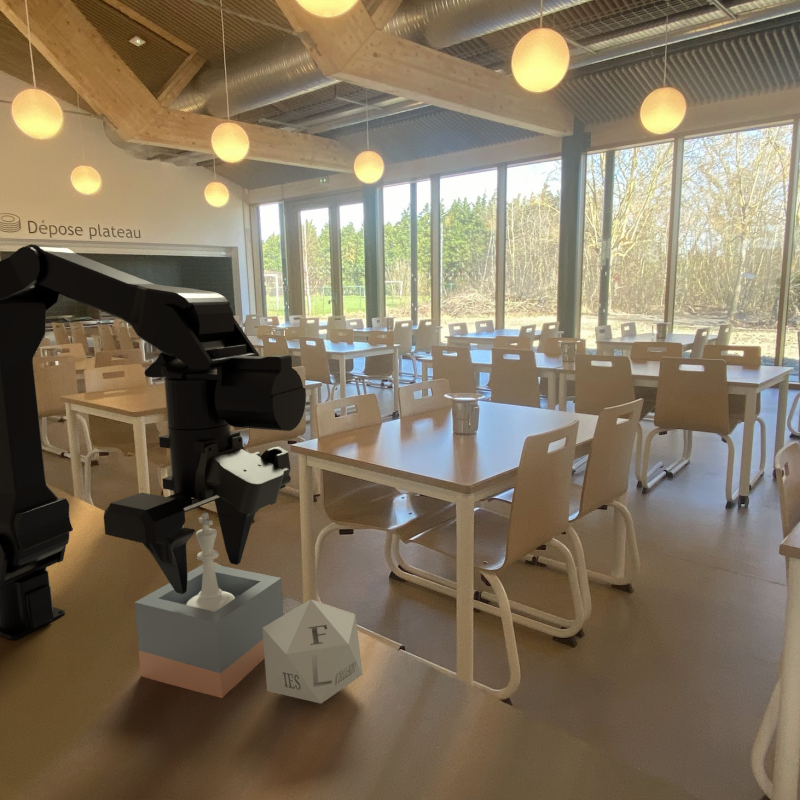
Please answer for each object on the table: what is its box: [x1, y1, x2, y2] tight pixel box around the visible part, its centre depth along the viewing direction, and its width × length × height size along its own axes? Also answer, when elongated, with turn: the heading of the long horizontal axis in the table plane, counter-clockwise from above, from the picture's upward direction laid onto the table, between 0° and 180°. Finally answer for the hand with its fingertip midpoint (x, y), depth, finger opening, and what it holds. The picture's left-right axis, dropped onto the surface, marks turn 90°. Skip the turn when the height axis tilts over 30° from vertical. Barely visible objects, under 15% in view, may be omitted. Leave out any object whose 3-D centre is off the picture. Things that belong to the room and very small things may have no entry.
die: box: [262, 599, 364, 704], centre depth 58 cm, size 8×9×10 cm
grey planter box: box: [134, 564, 284, 699], centre depth 65 cm, size 10×10×8 cm
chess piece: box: [186, 511, 235, 612], centre depth 64 cm, size 5×5×10 cm
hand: (209, 577), depth 64 cm, fingers open, 7 cm apart
